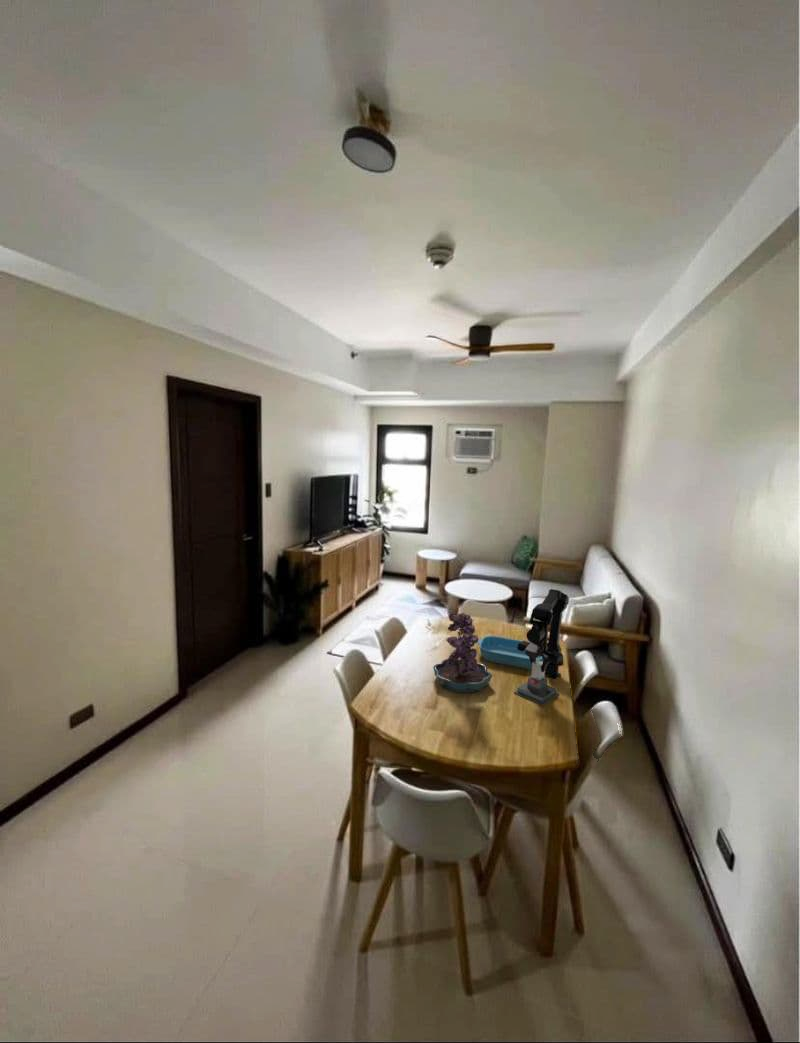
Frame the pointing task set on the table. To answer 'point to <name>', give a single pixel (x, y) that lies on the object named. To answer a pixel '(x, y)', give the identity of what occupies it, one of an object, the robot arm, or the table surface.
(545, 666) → the robot arm
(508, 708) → the table surface
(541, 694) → the jack stand base
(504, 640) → the casserole dish
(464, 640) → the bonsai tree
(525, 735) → the table surface
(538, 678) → the column
